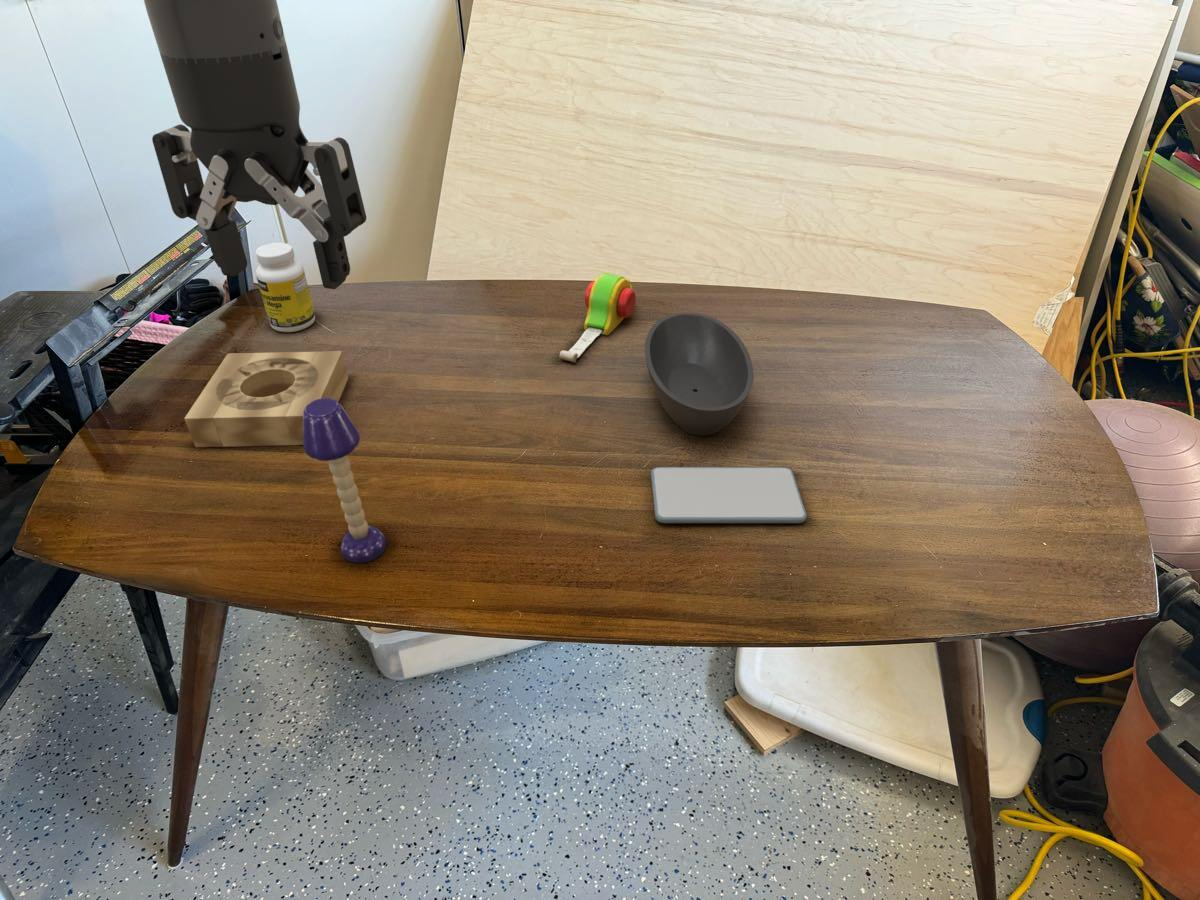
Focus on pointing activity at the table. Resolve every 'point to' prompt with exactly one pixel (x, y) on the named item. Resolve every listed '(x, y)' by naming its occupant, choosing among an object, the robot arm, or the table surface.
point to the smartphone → (726, 495)
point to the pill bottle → (284, 288)
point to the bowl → (698, 371)
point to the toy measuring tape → (603, 310)
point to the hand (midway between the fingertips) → (285, 278)
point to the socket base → (264, 397)
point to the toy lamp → (341, 474)
